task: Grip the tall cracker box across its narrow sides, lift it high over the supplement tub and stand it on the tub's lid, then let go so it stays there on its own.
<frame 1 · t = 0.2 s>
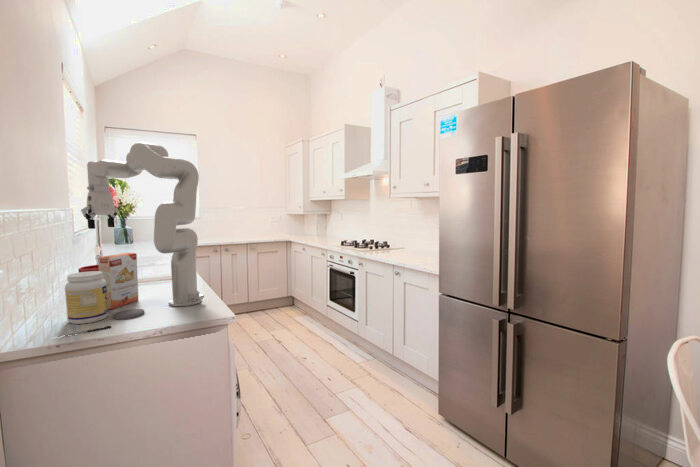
hand: (101, 227, 163), 31 cm above the table, tool pointing down, fingers open, 9 cm apart
chef's knife: (76, 334, 118), on the table
supplement tub: (88, 319, 132), on the table
cracker box: (120, 305, 151), on the table
coaster: (129, 315, 137), on the table
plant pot: (96, 290, 175), on the table
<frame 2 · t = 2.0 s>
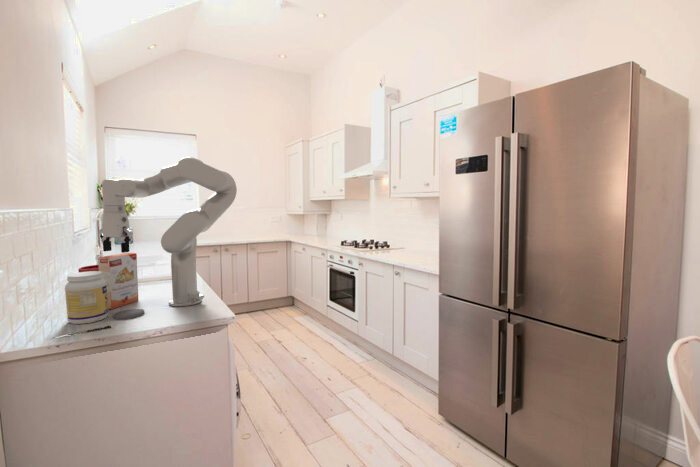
hand: (116, 251, 149), 22 cm above the table, tool pointing down, fingers open, 9 cm apart
nothing on the table moved.
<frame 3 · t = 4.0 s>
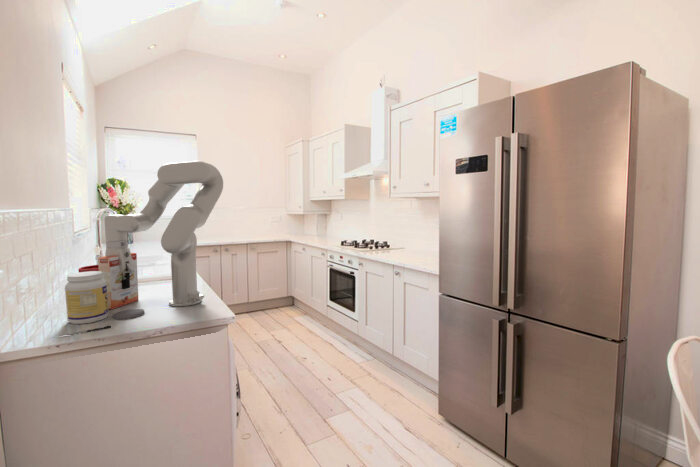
hand: (119, 287, 150), 7 cm above the table, tool pointing down, fingers closed on cracker box, 6 cm apart
cracker box: (120, 305, 151), on the table, touching gripper
everything else where it was.
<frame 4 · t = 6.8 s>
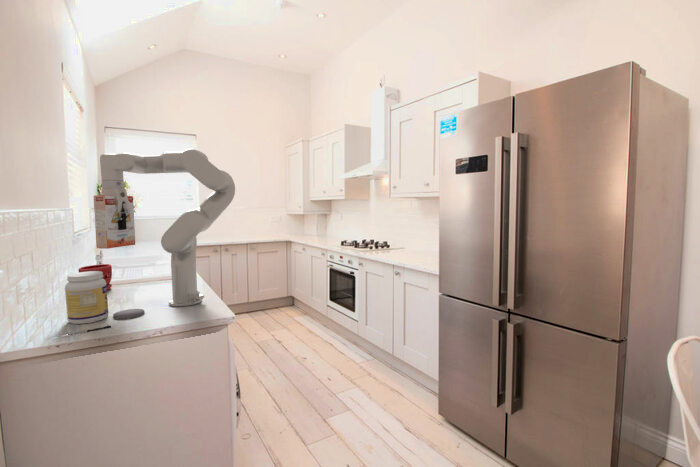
hand: (116, 229, 148), 31 cm above the table, tool pointing down, fingers closed on cracker box, 6 cm apart
cracker box: (117, 247, 149), point 24 cm above the table, touching gripper
everything else where it was.
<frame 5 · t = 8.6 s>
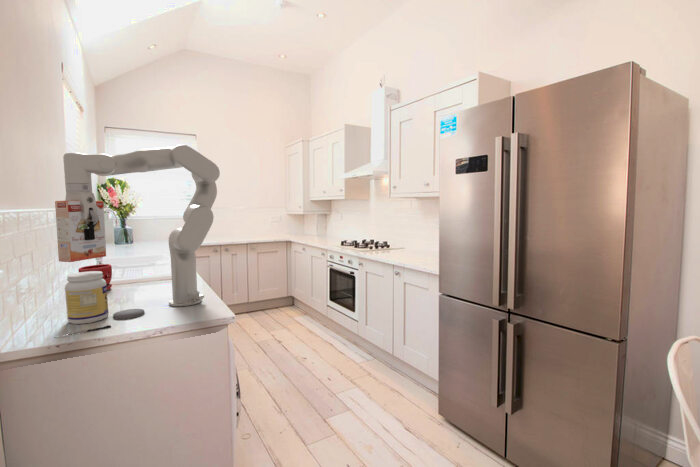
hand: (82, 239, 129), 29 cm above the table, tool pointing down, fingers closed on cracker box, 6 cm apart
cracker box: (84, 259, 130), point 22 cm above the table, touching gripper
everything else where it was.
when the fingers open (26 cm above the table, at t = 10.1 s): cracker box drops 2 cm, resting on supplement tub.
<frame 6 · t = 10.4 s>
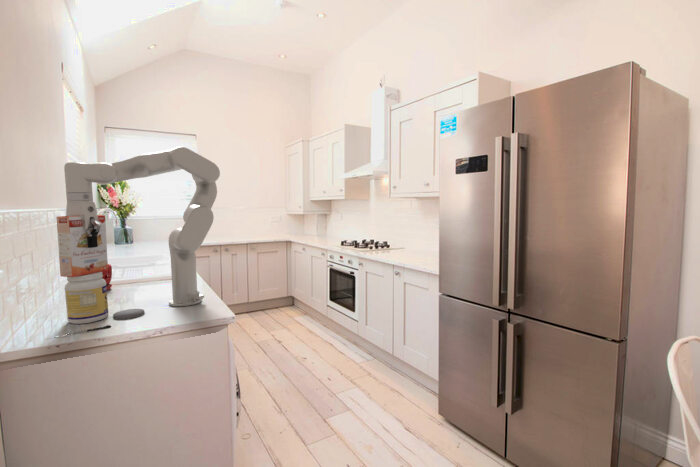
hand: (83, 246, 130), 27 cm above the table, tool pointing down, fingers open, 8 cm apart
supplement tub: (88, 319, 132), on the table, touching cracker box
cracker box: (85, 274, 131), point 17 cm above the table, touching supplement tub
everything else where it was.
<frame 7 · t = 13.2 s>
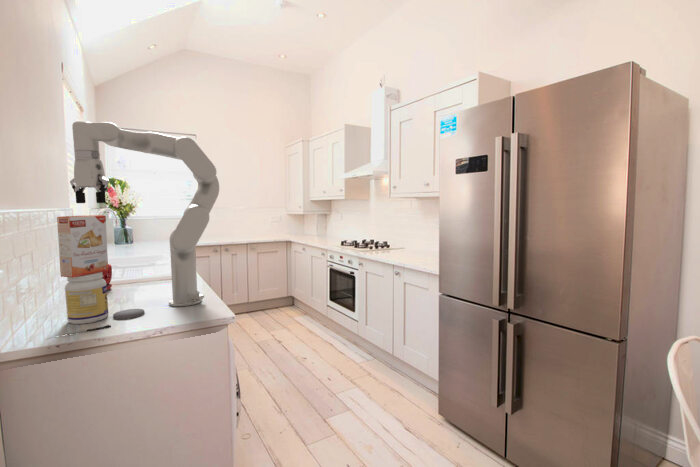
hand: (91, 203, 136), 42 cm above the table, tool pointing down, fingers open, 9 cm apart
nothing on the table moved.
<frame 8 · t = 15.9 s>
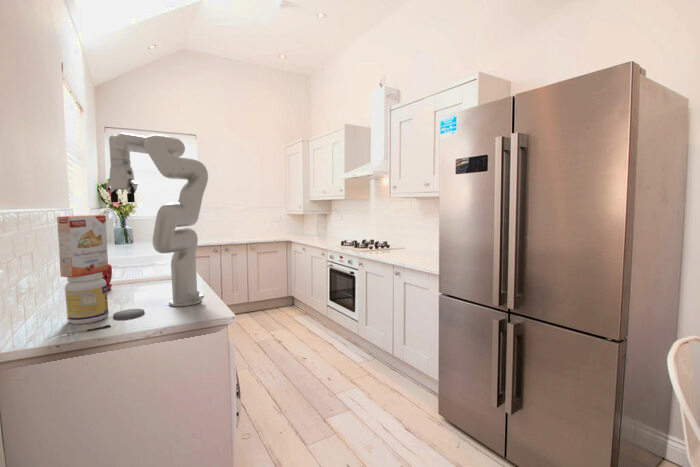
hand: (122, 202, 164), 42 cm above the table, tool pointing down, fingers open, 9 cm apart
nothing on the table moved.
at the end: cracker box inside the target area on the supplement tub (0.2 cm from its centre), point 16.9 cm above the supplement tub's base; cracker box tilted 0°; the gripper is holding nothing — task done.
